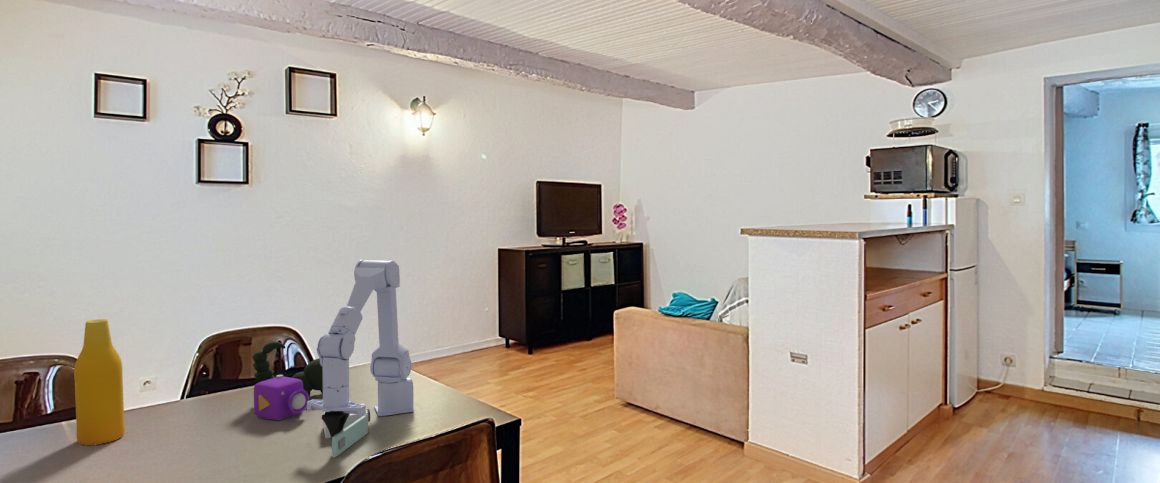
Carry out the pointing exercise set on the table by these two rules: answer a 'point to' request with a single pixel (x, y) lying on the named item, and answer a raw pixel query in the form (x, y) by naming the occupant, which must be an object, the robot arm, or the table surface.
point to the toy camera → (279, 398)
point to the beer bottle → (98, 387)
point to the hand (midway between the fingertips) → (336, 442)
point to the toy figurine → (309, 376)
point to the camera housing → (349, 421)
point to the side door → (349, 435)
